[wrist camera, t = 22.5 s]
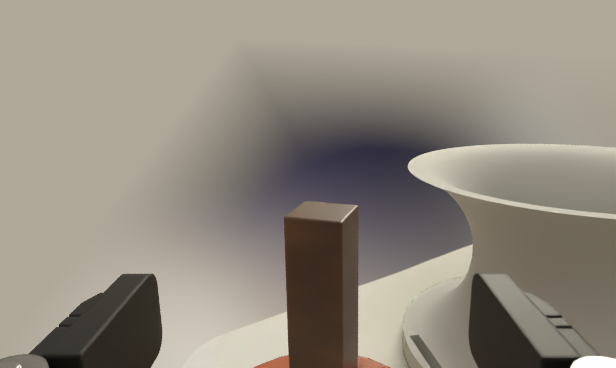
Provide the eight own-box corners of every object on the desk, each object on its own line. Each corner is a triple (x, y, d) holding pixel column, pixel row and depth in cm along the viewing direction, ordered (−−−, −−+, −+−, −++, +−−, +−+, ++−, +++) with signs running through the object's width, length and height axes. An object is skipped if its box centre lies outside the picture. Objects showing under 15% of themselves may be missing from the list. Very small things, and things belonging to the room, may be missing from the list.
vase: (516, 268, 55) (528, 136, 51) (819, 383, 34) (876, 177, 31) (345, 331, 43) (344, 163, 39) (658, 573, 22) (722, 263, 18)
